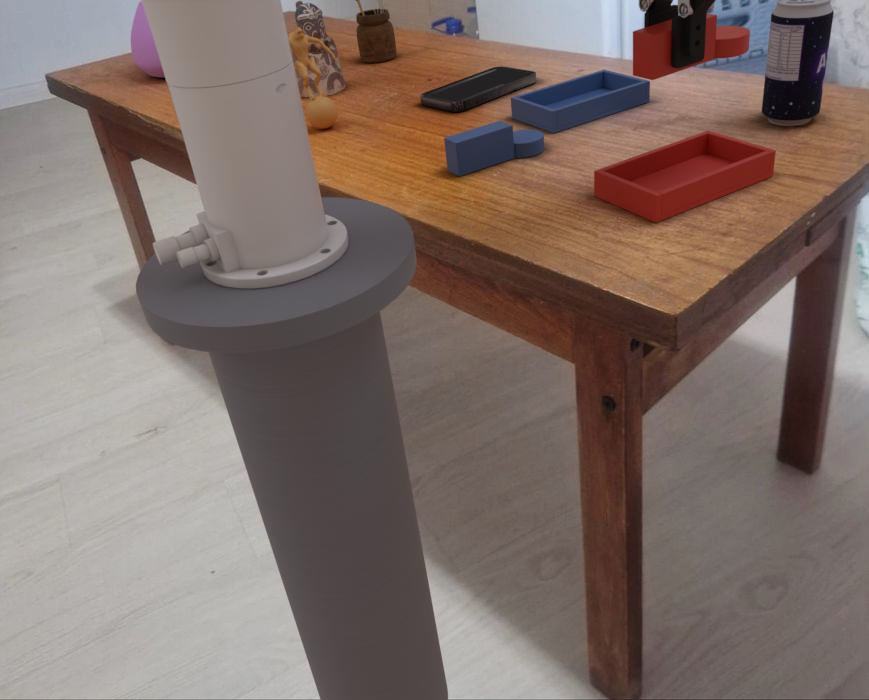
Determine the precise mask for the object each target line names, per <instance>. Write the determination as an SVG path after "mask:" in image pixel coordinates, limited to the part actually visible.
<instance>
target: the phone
mask: <svg viewBox="0 0 869 700" xmlns="http://www.w3.org/2000/svg"><path fill="white" fill-rule="evenodd" d="M536 82H537V72H536V71H534V70H529V69H522V68H515V67H508V66H503V65H502V66H494V67H491V68H489V69H485V70H483V71H480V72H477V73H474V74H472V75H469V76H466V77H463V78H461V79H459V80H456V81H453V82H450V83H447V84H444V85H442V86H439V87H437V88H433V89H430V90H428V91H425V92H422V93H421V94H420V95H419V97H420V104H421V106H424V107H430V108H433V109H438V110H443V111H446V112H451V113H460V112H464V111H467V110H469V109H471V108H474V107H476V106H479V105H482V104H484V103H487V102H488V101H489V102H490V101H492V100H493V99H496V98H499V97H502V96H504V95H506V94H509V93H512V92H515V91H517V90H520V89H522V88H525V87H527V86H530V85H532V84H534V83H536Z"/></svg>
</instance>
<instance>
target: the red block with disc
mask: <svg viewBox="0 0 869 700" xmlns="http://www.w3.org/2000/svg"><path fill="white" fill-rule="evenodd" d="M717 25H718V15H717V14H713V13H707V16H706V35H705V55H704V59H703V60H702V61H700V62H697V63H694V64H691V65H688V66H685V67H682V68H673V67H672V66H671V45H672V29H671V27H672V19H671V20H668V21H665V22H662V23H658V24H655V25H652V26H649V27H646V28H644V27H643V28H639V29H636V30H633V31H632V77H636V78H640V79H644V80H648V81H650V80H651V81H654V80H657V79H661V78H664V77H666V76H669V75H672V74H675V73H678V72H681V71H684V70H687V69H690V68H692V67H696V66H698V65H702V64H705V63H708V62H710V61H712V60H713V61H714V60H715V59H728V58H730V59H731V58H734V57H739V56H742V55H745V54H746V53H748V52H749V51H750V38H751V30H750V29H749V28H748V27H745V26H739V25H720V26H717Z"/></svg>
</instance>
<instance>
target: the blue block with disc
mask: <svg viewBox="0 0 869 700" xmlns="http://www.w3.org/2000/svg"><path fill="white" fill-rule="evenodd" d="M443 141H444V149H445V159H446V169H447V171H448V172H450V173H451V174H453V175H455V176H457V177H459V178H460V177H464V176H465V175H469V174H471V173H475V172H477V171H481V170H483V169H486V168H490V167H492V166H493V167H494V166H495V165H498V164H502V163H504V162H508V161H511V160H513V159H515V158H516V159H517V158H518V159H521V158H522V159H523V158H530V157H535V156H537V155H540V154H542V153H543V152H544V150H545V134H544V132H542V130H541V131H540V130H538V129H529V128H528V129H527V128H526V129H518V130H514V126H513V124H510V123H508V122H505V121H503V120H497V121H494V122H490V123H488V124H484V125H482V126H478V127H474V128H472V129H468V130H465V131H462V132H458V133H455V134H452V135H449V136H445V137H443Z"/></svg>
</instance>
